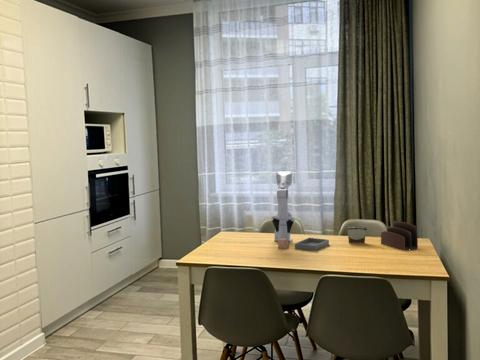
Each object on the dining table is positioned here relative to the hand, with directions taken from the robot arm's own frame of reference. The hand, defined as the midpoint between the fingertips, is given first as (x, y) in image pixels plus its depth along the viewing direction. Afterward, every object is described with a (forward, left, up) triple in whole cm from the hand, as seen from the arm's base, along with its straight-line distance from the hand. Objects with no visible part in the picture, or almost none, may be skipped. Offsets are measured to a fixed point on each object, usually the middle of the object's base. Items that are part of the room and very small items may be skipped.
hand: (283, 232), depth 262 cm
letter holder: (+57, +35, -9) cm, 68 cm away
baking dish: (+14, +10, -9) cm, 19 cm away
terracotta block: (0, 0, -9) cm, 9 cm away
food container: (+32, +34, -9) cm, 48 cm away
